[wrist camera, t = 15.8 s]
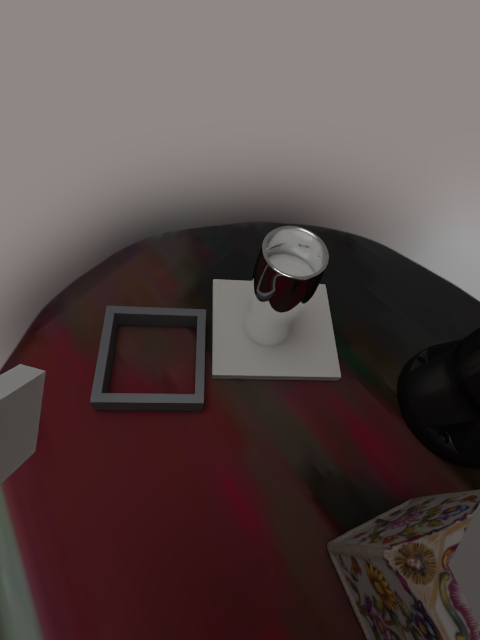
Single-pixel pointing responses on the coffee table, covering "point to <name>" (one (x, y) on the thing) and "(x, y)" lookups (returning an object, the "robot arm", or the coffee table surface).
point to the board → (271, 361)
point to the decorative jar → (409, 570)
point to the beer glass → (284, 282)
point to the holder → (147, 318)
